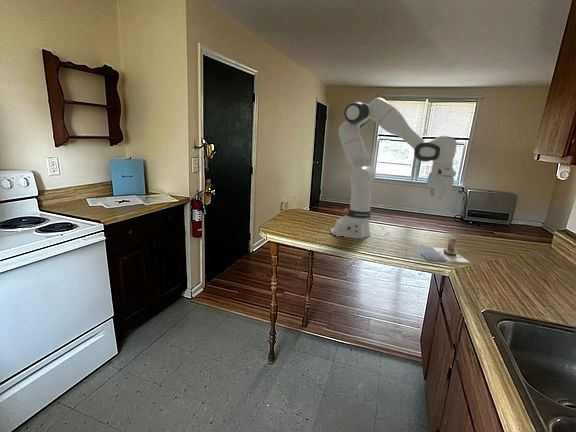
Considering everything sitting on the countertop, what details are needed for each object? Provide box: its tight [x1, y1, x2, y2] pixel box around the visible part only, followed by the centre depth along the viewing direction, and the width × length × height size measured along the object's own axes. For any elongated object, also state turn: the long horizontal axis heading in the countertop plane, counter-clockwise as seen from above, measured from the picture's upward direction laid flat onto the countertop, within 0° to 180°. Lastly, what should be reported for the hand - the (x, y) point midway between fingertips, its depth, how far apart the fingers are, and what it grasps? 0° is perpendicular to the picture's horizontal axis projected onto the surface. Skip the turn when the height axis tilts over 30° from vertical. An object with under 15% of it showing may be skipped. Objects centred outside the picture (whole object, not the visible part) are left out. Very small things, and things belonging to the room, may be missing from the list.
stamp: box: [443, 236, 459, 256], centre depth 146 cm, size 4×4×8 cm
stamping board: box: [409, 245, 473, 264], centre depth 147 cm, size 20×20×2 cm
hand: (435, 198), depth 155 cm, fingers open, 8 cm apart
